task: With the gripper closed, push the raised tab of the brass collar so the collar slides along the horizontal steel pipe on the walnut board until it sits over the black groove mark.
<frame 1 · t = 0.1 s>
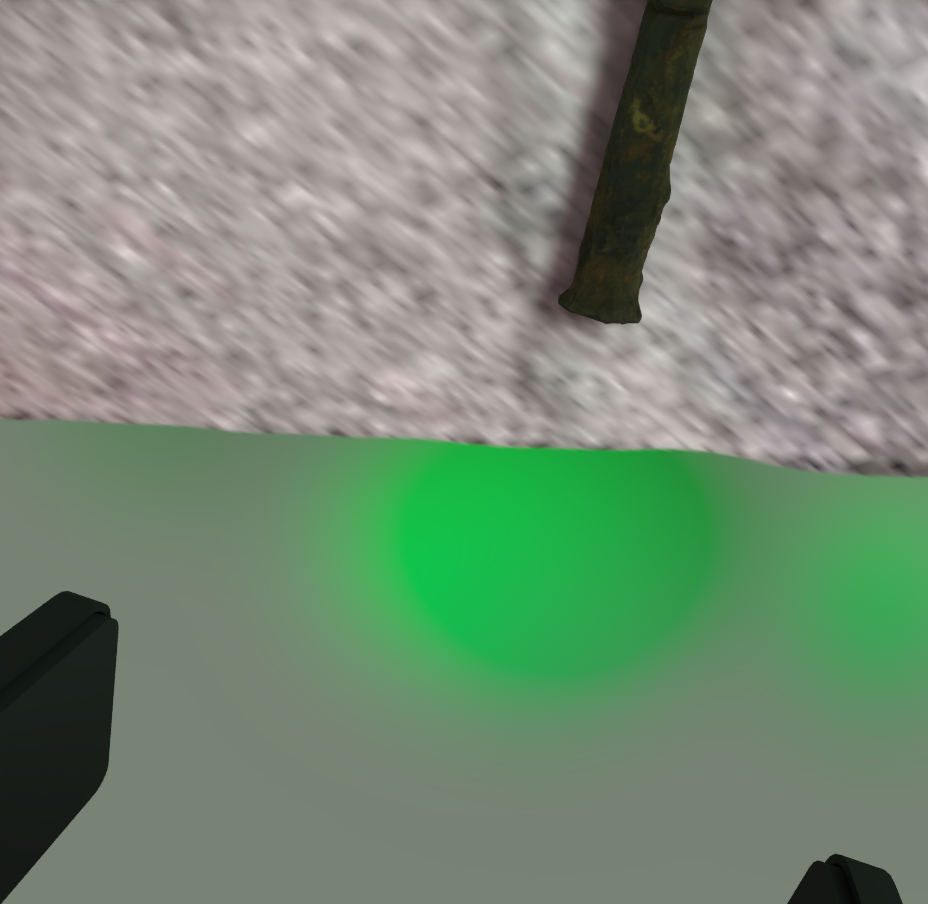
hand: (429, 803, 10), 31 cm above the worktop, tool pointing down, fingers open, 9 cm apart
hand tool: (638, 110, 35), on the worktop
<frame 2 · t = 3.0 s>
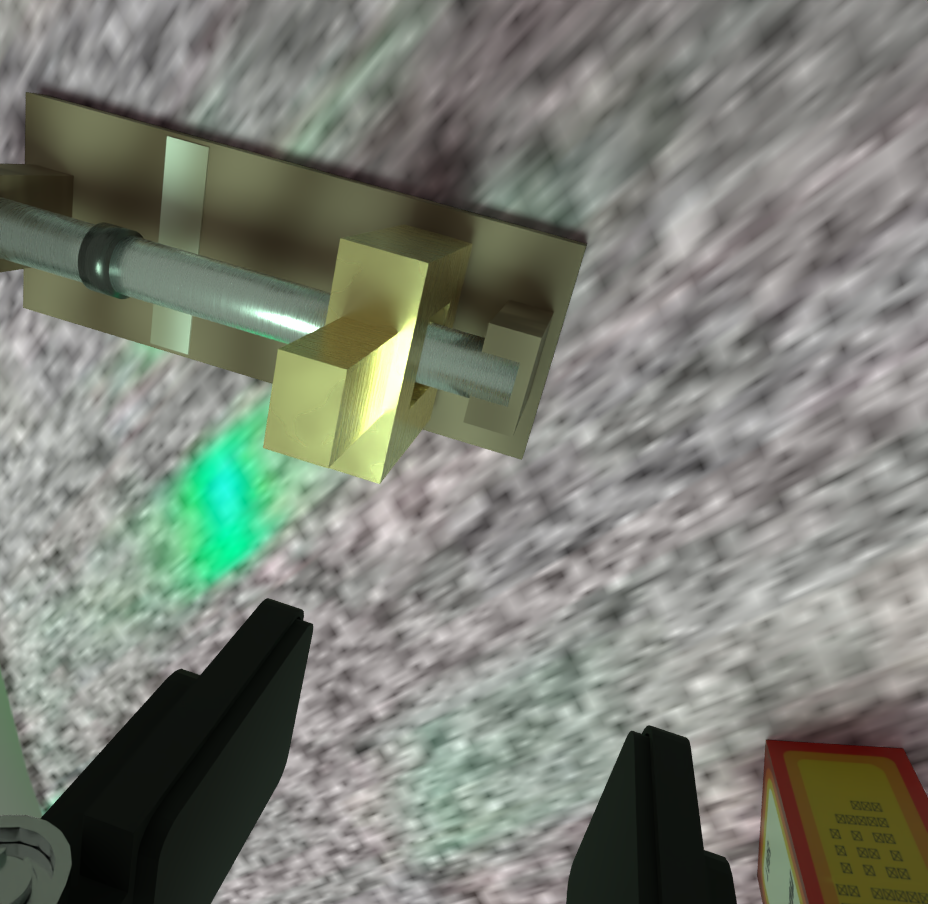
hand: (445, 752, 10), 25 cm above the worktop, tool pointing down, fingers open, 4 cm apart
baking soda box: (825, 812, 40), on the worktop
pipe: (228, 294, 30), point 5 cm above the worktop
pipe stand: (289, 276, 35), on the worktop
collar: (373, 358, 26), point 9 cm above the worktop, slide at 0.0 cm
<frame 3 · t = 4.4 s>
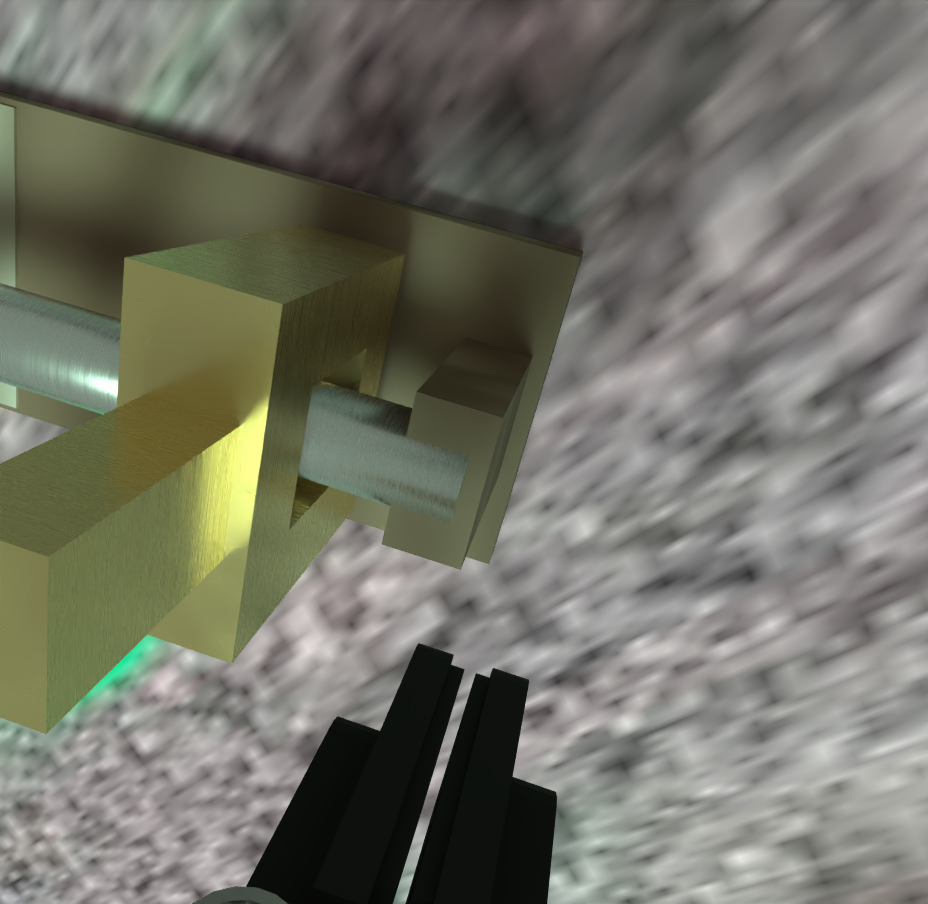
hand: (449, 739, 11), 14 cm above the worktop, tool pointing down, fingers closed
pipe: (16, 337, 19), point 5 cm above the worktop
pipe stand: (154, 298, 24), on the worktop
collar: (219, 455, 16), point 9 cm above the worktop, slide at 0.0 cm
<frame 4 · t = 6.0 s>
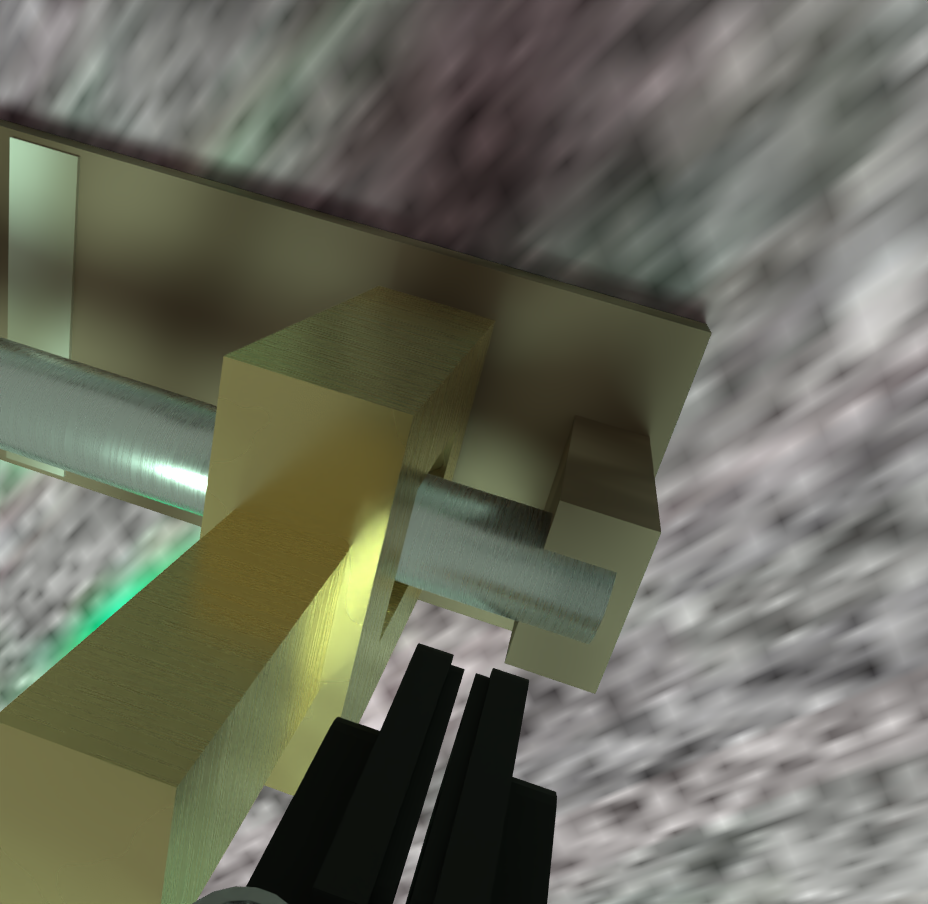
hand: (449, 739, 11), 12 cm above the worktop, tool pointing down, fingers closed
pipe: (88, 420, 17), point 5 cm above the worktop
pipe stand: (220, 360, 22), on the worktop
collar: (309, 565, 14), point 9 cm above the worktop, slide at 0.6 cm, touching gripper
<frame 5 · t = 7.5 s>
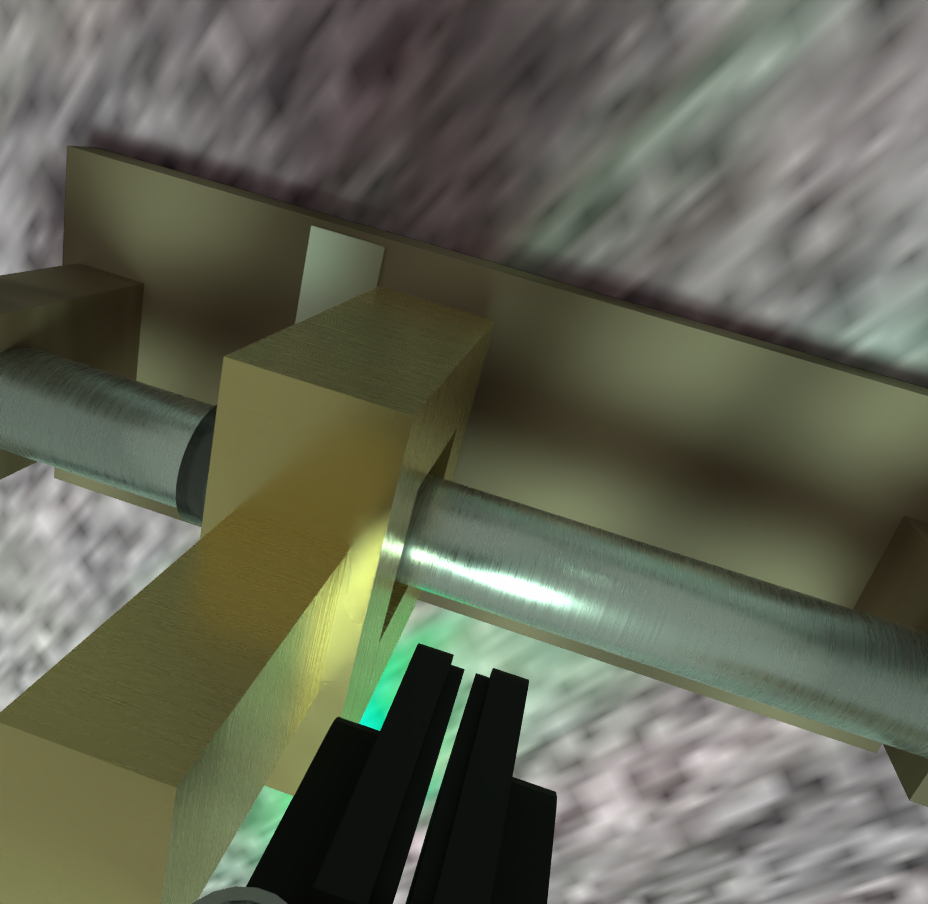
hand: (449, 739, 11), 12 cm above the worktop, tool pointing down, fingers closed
pipe: (450, 539, 16), point 5 cm above the worktop
pipe stand: (493, 446, 21), on the worktop
collar: (309, 565, 14), point 9 cm above the worktop, slide at 9.2 cm, touching gripper
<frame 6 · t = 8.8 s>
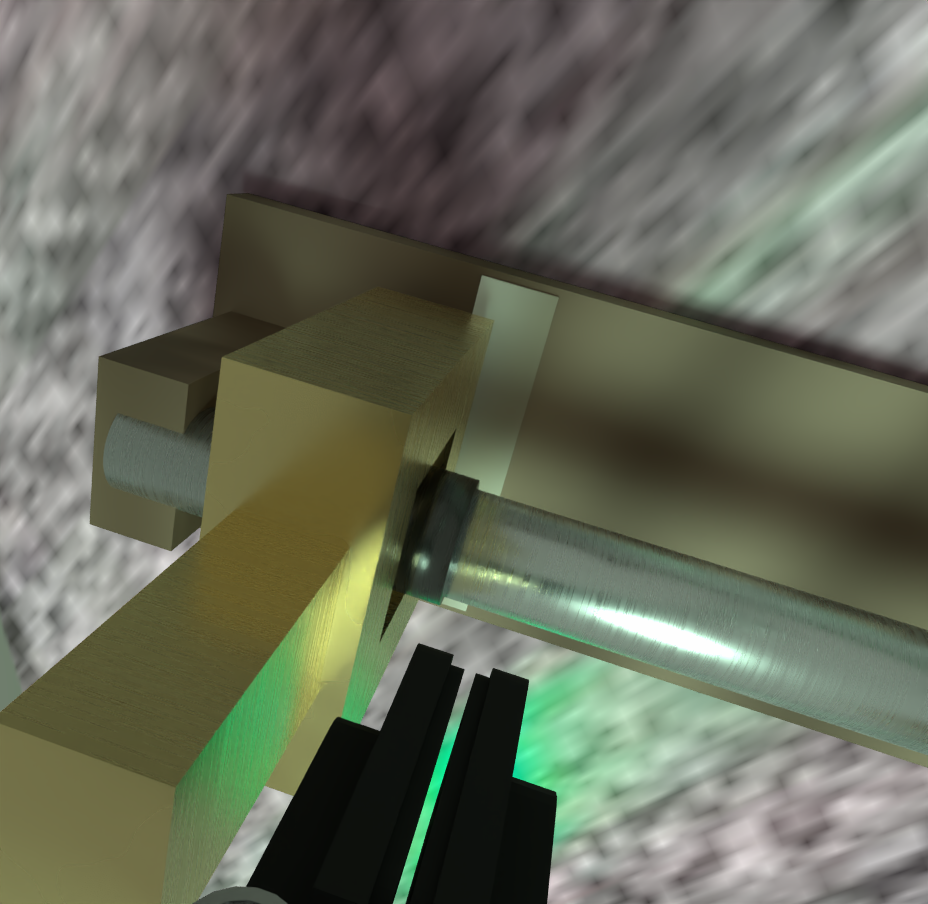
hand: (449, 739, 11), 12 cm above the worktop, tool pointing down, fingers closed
pipe: (659, 606, 15), point 5 cm above the worktop
pipe stand: (649, 493, 21), on the worktop
collar: (308, 566, 14), point 9 cm above the worktop, slide at 13.8 cm, touching gripper
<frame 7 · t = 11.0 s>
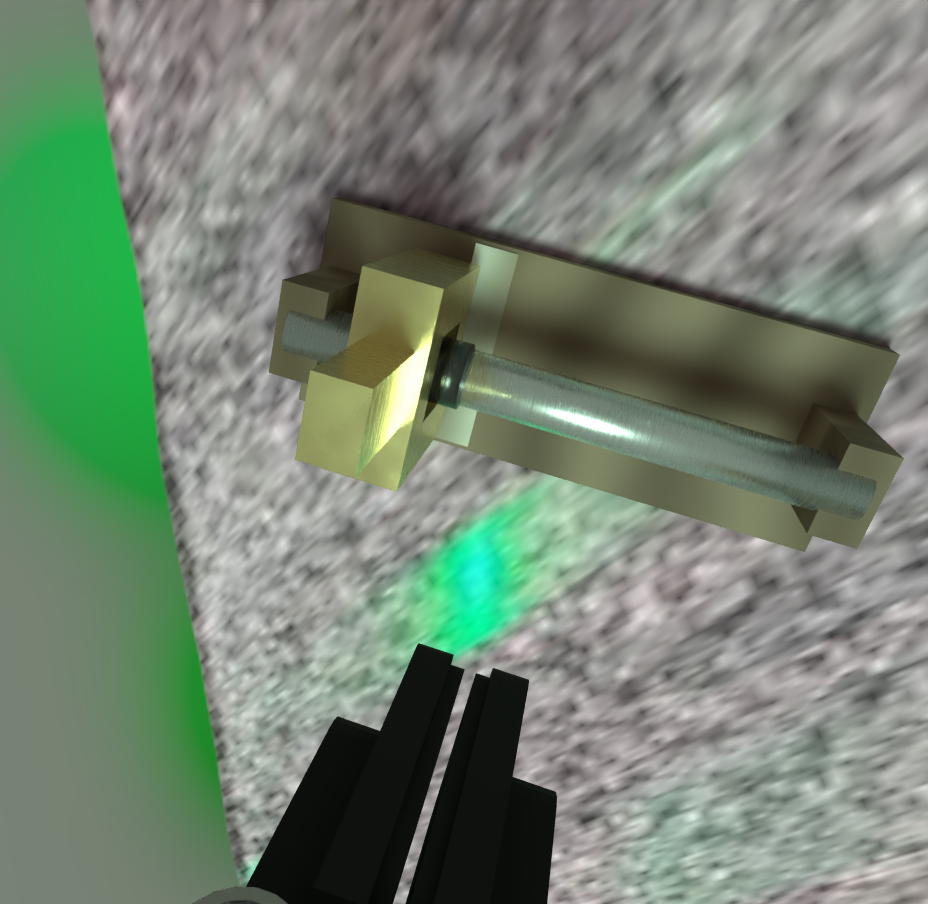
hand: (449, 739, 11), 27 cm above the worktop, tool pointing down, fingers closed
pipe: (567, 407, 30), point 5 cm above the worktop
pipe stand: (574, 372, 36), on the worktop
collar: (390, 375, 29), point 9 cm above the worktop, slide at 13.9 cm
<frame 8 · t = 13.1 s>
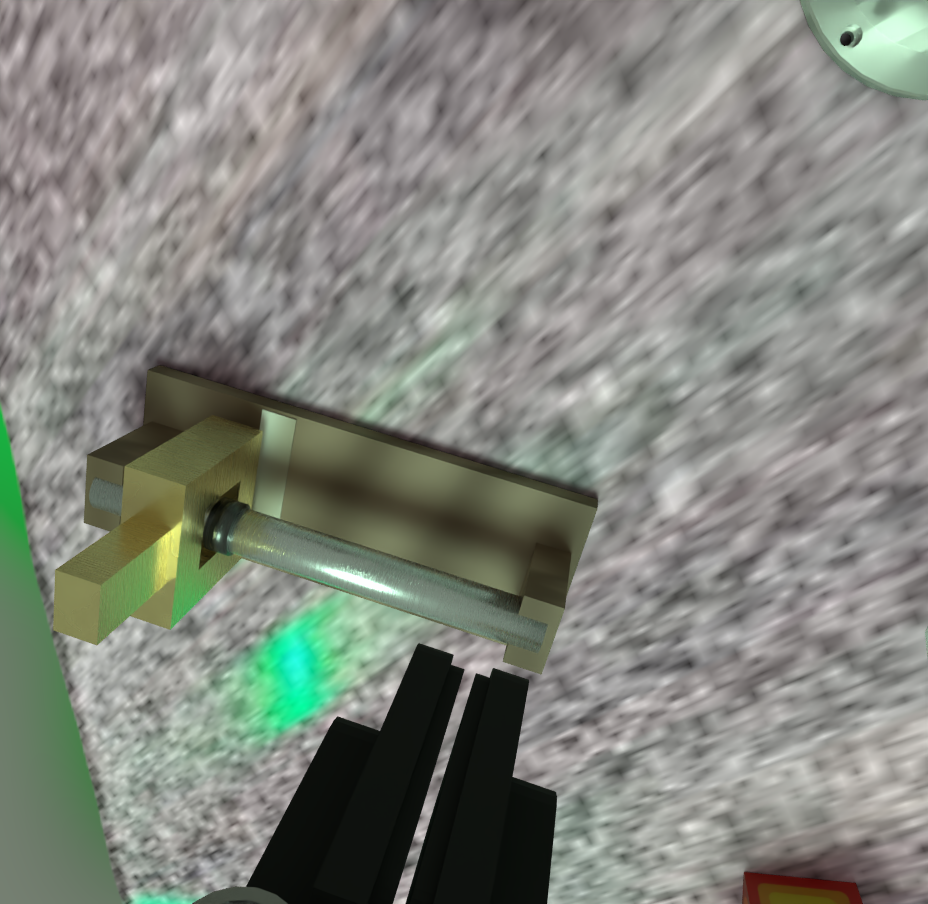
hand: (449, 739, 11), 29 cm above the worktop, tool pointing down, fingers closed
pipe: (318, 556, 38), point 5 cm above the worktop
pipe stand: (356, 507, 43), on the worktop
collar: (165, 537, 36), point 9 cm above the worktop, slide at 13.9 cm
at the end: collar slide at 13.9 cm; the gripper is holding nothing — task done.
